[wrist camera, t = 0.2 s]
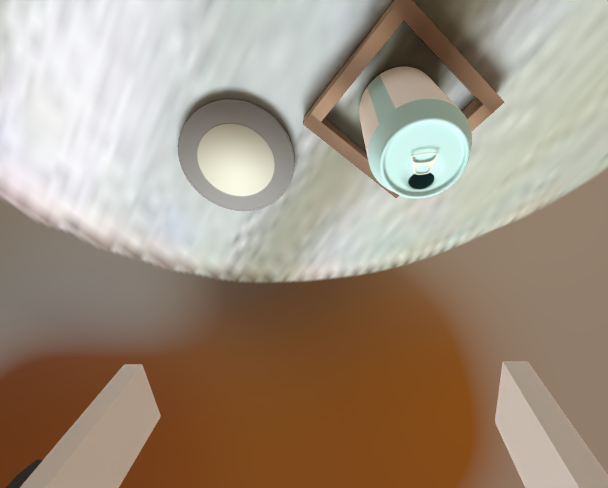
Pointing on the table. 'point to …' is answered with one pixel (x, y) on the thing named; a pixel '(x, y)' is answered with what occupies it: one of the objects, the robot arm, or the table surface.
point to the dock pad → (236, 155)
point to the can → (413, 133)
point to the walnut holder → (366, 51)
